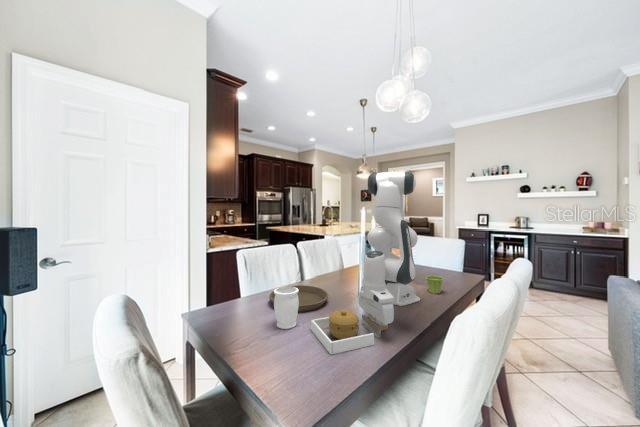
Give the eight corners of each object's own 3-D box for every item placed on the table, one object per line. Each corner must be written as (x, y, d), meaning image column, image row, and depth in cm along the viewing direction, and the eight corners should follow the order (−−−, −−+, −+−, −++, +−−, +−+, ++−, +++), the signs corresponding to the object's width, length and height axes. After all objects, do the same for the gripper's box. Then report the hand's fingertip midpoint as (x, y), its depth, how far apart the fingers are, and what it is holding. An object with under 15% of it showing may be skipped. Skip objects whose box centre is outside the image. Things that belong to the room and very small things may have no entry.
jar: (291, 332, 105) (291, 295, 105) (269, 328, 109) (269, 292, 108) (302, 321, 115) (302, 287, 115) (281, 318, 118) (281, 285, 118)
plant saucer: (338, 308, 130) (338, 299, 130) (276, 318, 119) (276, 308, 119) (316, 290, 159) (316, 282, 159) (264, 296, 148) (264, 288, 148)
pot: (327, 329, 107) (327, 305, 107) (355, 328, 108) (355, 304, 108) (330, 344, 96) (330, 317, 96) (361, 343, 96) (361, 316, 96)
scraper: (377, 322, 114) (377, 312, 114) (394, 334, 103) (394, 323, 103) (361, 324, 112) (362, 314, 111) (378, 337, 100) (378, 326, 100)
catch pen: (348, 322, 113) (348, 313, 113) (373, 344, 95) (374, 333, 95) (311, 329, 107) (311, 320, 107) (330, 354, 89) (330, 343, 89)
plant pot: (424, 293, 153) (424, 278, 153) (427, 289, 161) (427, 274, 160) (441, 296, 148) (441, 280, 147) (444, 291, 155) (444, 277, 155)
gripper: (355, 285, 115) (354, 316, 115) (382, 301, 96) (382, 338, 96) (367, 284, 117) (367, 314, 118) (396, 298, 98) (396, 335, 99)
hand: (374, 325), depth 107 cm, fingers closed on scraper, 3 cm apart
